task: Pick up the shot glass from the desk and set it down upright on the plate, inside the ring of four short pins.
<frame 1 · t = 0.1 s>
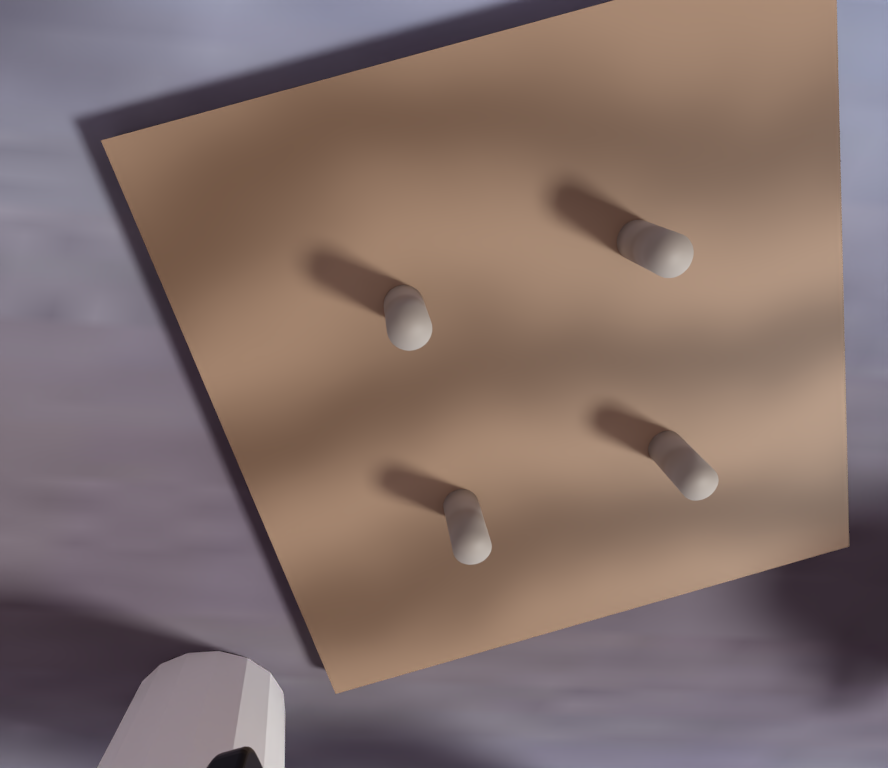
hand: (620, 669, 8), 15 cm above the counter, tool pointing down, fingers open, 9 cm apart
shot glass: (212, 704, 26), on the counter
pin plate: (535, 369, 23), on the counter
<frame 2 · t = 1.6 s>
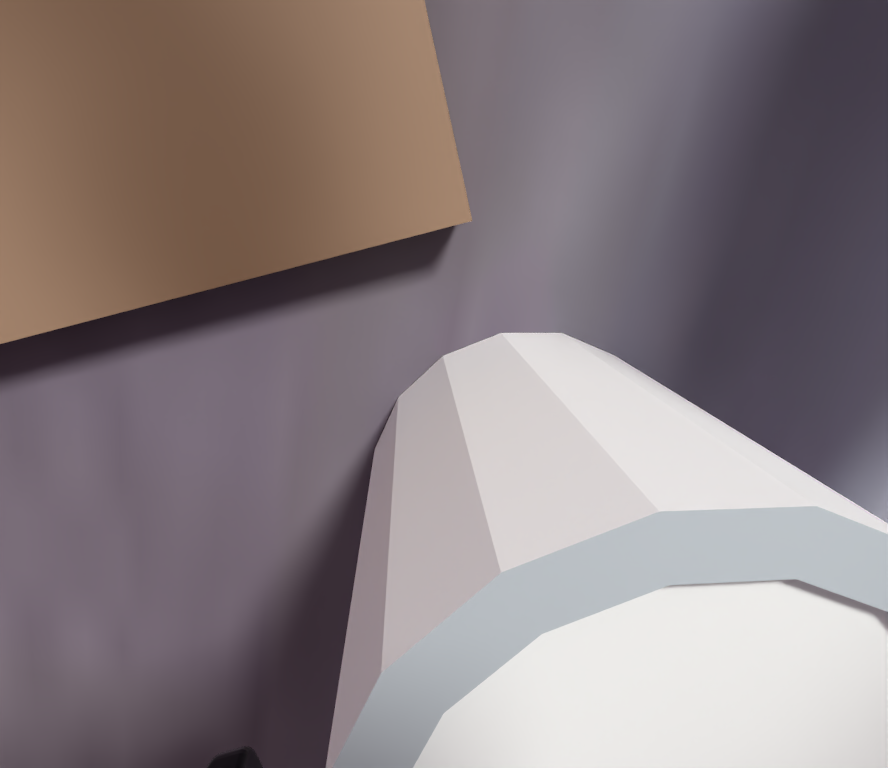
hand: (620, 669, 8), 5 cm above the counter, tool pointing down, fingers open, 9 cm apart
shot glass: (517, 466, 13), on the counter
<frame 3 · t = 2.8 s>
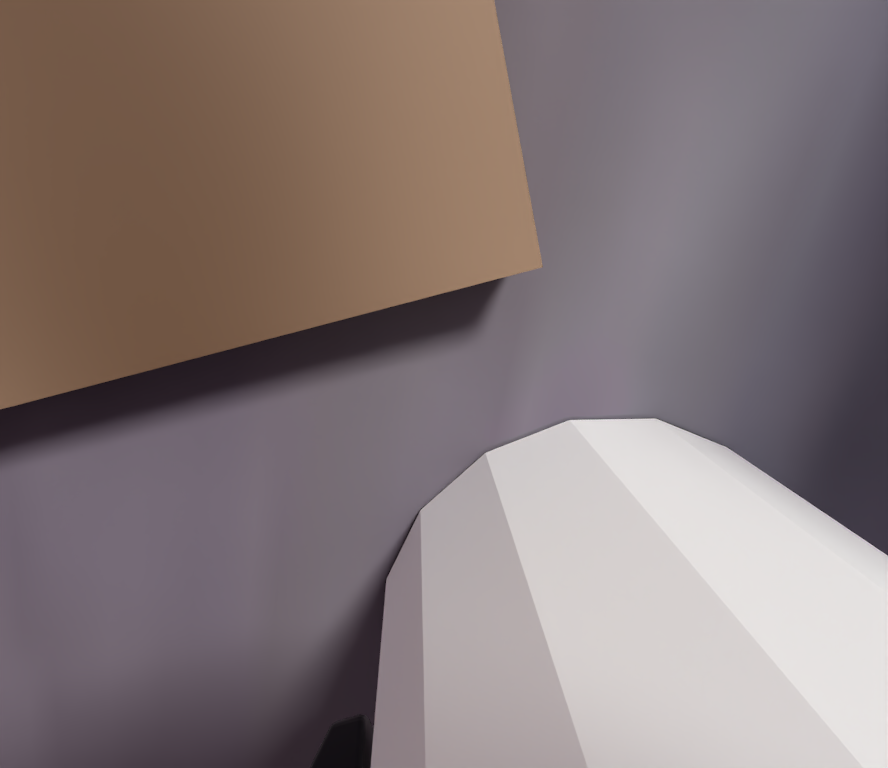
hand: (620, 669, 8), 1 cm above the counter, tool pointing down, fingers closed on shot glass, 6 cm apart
shot glass: (583, 593, 10), on the counter, touching gripper
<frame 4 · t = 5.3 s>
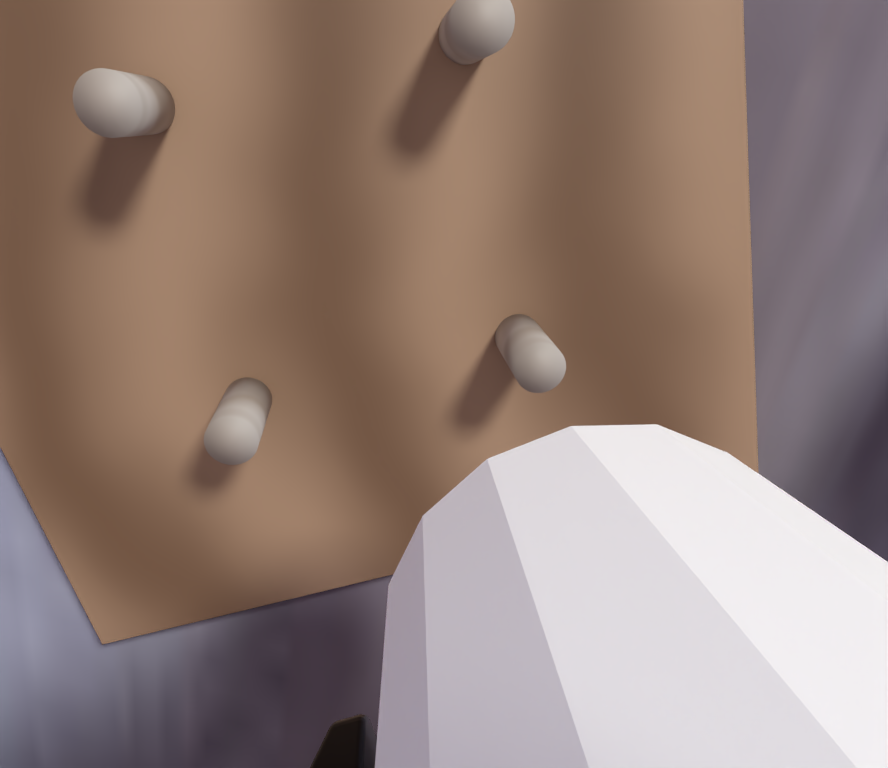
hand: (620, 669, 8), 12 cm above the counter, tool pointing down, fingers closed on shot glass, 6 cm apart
shot glass: (585, 598, 10), point 10 cm above the counter, touching gripper
pin plate: (349, 225, 17), on the counter
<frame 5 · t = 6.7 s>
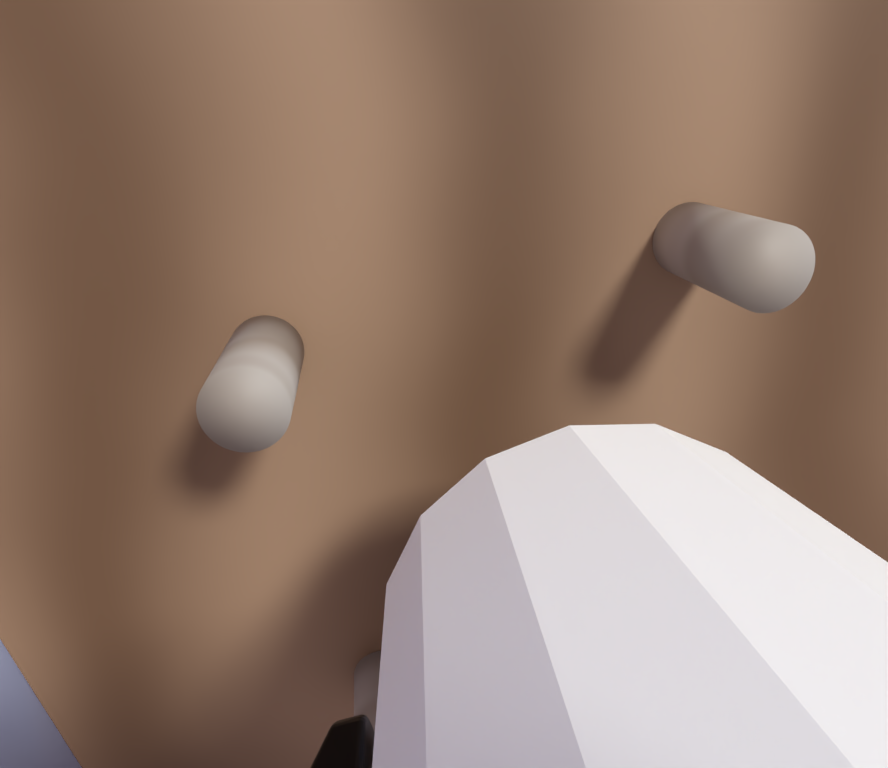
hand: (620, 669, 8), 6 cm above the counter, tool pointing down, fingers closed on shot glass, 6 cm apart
shot glass: (583, 598, 10), point 4 cm above the counter, touching gripper
pin plate: (508, 453, 14), on the counter
when the fingers open (4 cm above the counter, at t = 8.0 s): shot glass drops 1 cm, resting on pin plate.
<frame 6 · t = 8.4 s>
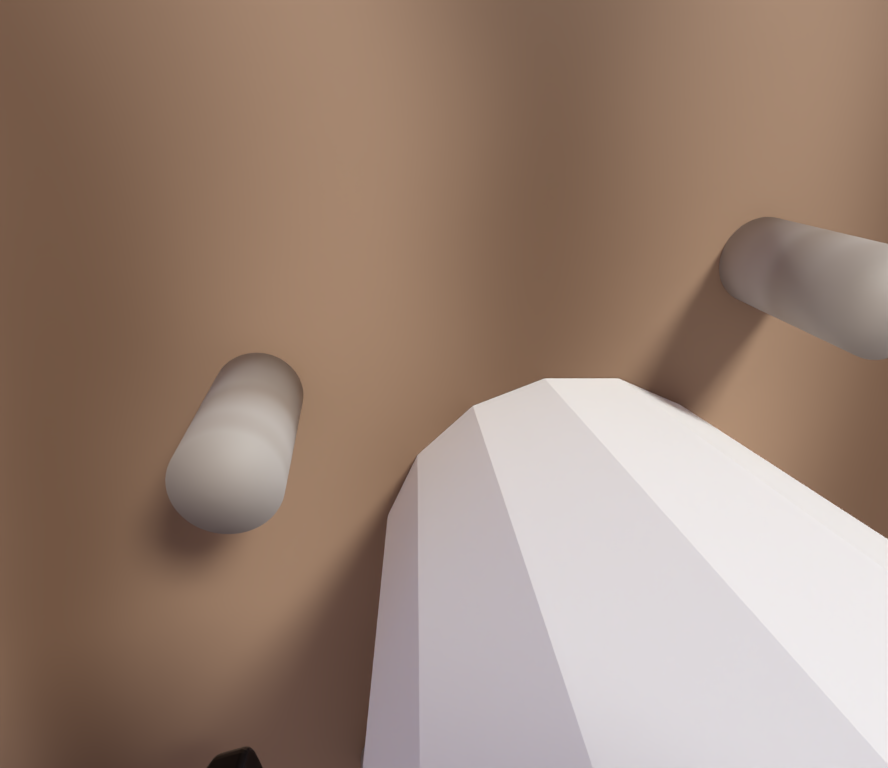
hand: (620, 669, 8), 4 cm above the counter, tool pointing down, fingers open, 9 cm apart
shot glass: (558, 534, 11), point 1 cm above the counter, touching pin plate
pin plate: (540, 504, 12), on the counter
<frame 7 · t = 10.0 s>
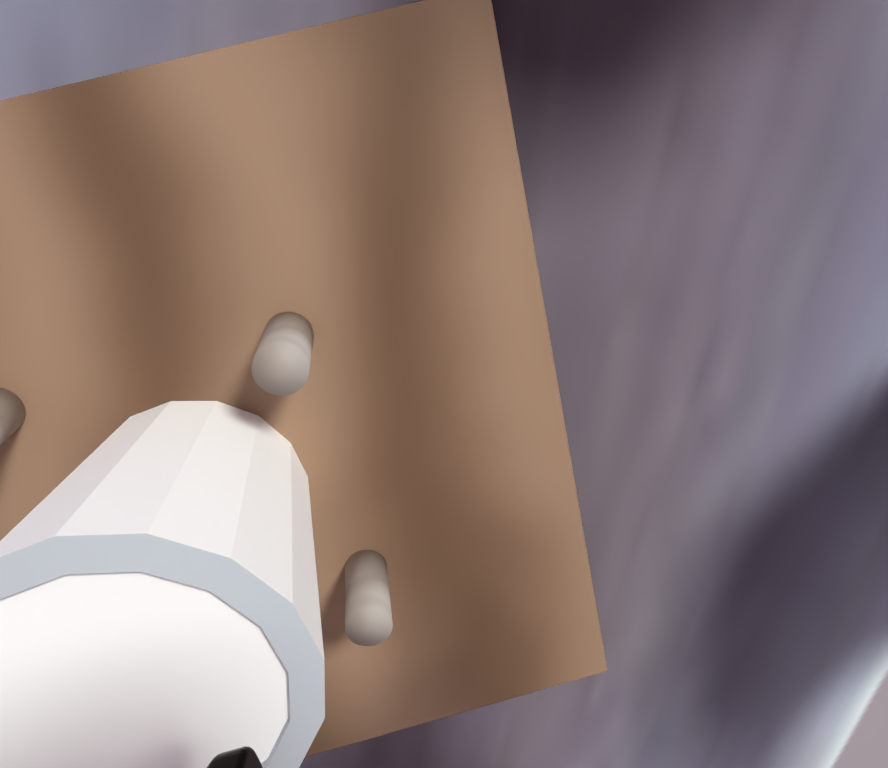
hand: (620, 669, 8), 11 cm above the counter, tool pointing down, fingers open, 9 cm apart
shot glass: (203, 493, 18), point 1 cm above the counter, touching pin plate
pin plate: (205, 477, 19), on the counter
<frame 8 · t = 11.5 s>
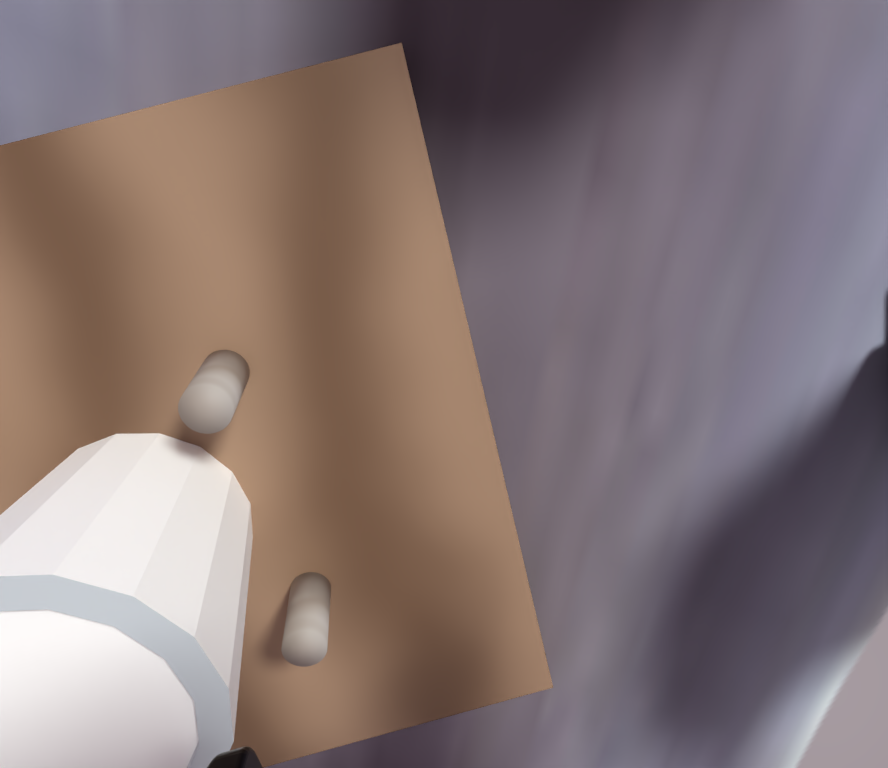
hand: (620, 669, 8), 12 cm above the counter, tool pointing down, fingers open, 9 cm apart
shot glass: (152, 519, 19), point 1 cm above the counter, touching pin plate
pin plate: (155, 502, 20), on the counter
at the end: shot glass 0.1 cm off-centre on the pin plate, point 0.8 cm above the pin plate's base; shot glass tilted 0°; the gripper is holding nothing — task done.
